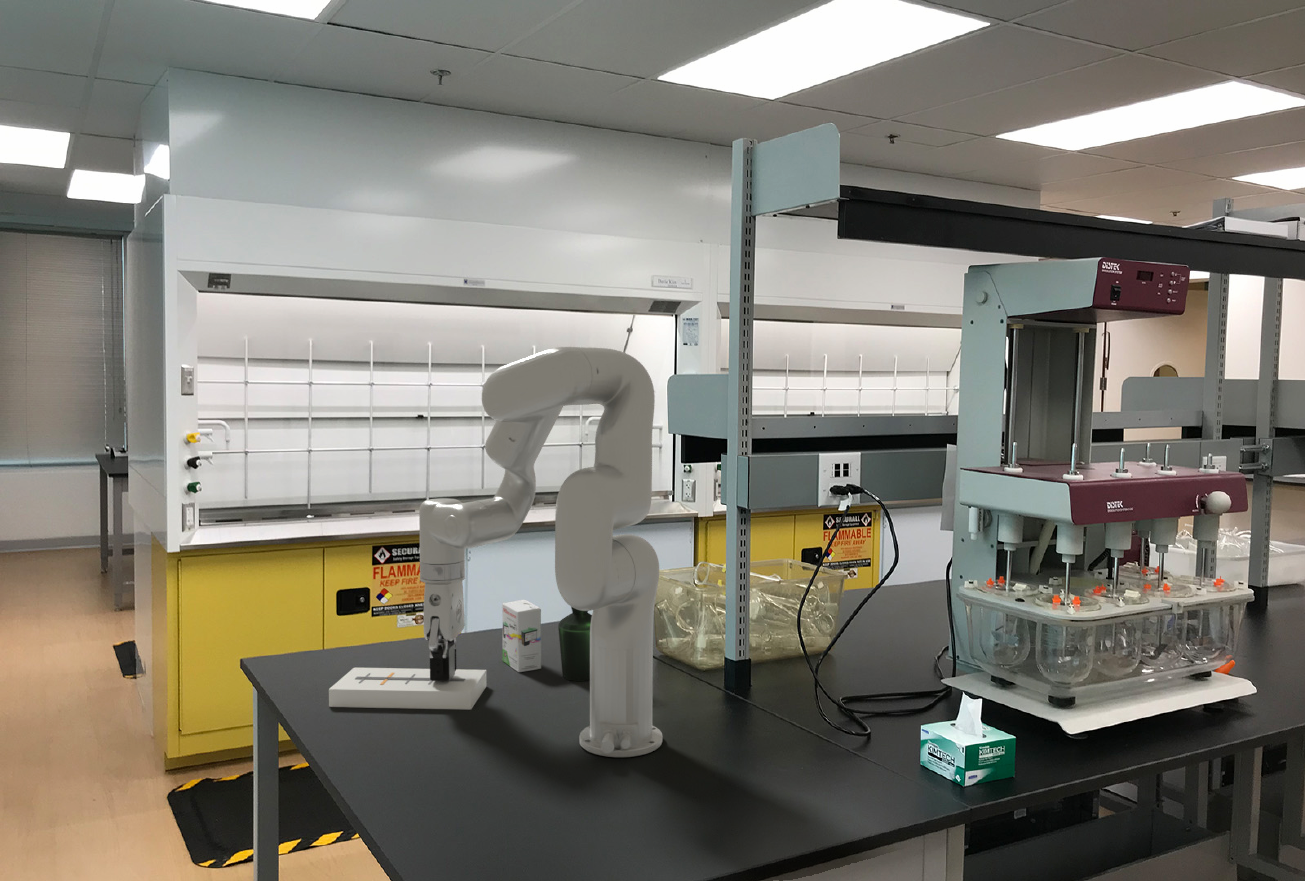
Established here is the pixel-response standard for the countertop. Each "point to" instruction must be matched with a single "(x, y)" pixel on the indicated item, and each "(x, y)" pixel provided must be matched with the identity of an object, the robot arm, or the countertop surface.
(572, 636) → the potion bottle
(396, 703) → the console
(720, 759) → the countertop surface
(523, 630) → the ink box
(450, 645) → the fader knob
